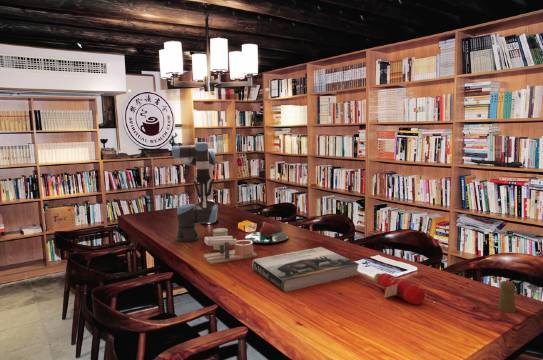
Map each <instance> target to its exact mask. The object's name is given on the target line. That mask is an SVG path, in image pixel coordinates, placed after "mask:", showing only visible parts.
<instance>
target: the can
mask: <svg viewBox="0 0 543 360" xmlns="http://www.w3.org/2000/svg"><path fill="white" fill-rule="evenodd" d="M228 233H229V232H228V228H224V227H222V228H221V227H219V228H214V229H212V237H217V236H229V234H228ZM213 250H215V251H220V245H214V246H213ZM224 251H225V245H224Z"/></svg>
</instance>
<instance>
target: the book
mask: <svg viewBox="0 0 543 360" xmlns="http://www.w3.org/2000/svg"><path fill="white" fill-rule="evenodd" d="M251 262H252V264H251V266H252V270H253V271H254V272H256V273H257V274H259V275H260V276H261V277H263V278H264V279H265V280H267V281H268V282H269V283H271V284H272V285H274V286H275V287H276V288H278V289H279V290H280V291H282V292H283V293H286V292H290V291H294V290H298V289H299V290H300V289H303V288H308V287H311V286H316V285H320V284H321V285H322V284H325V283H329V282H334V281H337V280H341V279H346V277H347V278H351V277H355V276H358V275H359V272H358V267H359V265H360V263H358V262H356V261H355V260H354V261H353V260H351V259H350V258H347V257H345V256H342V255H340V254H338V253H336V252H333V251H332V250H329V249H327V248H324V247H322V246H319V247H314V248H308V249H304V250H297V251H291V252H286V253H281V254H275V255H270V256H264V257H260V258H254V259H253V260H252V261H251ZM354 275H355V276H354ZM350 276H351V277H350ZM333 280H334V281H333Z"/></svg>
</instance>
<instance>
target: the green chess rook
mask: <svg viewBox="0 0 543 360" xmlns="http://www.w3.org/2000/svg"><path fill="white" fill-rule="evenodd" d="M499 287H500V290H501V291H500V296H499V300H498V305H497V309H498V310H499V311H501V312H504V313H508V312H509V313H508V314H511V313H512V314H513V312H514V313H516V312H515V311H516V310H517V309H516V300H515V292H516V289H517V287H516V285H515V283H514V282H513V281H508V280H503V281H501V282H500V284H499Z"/></svg>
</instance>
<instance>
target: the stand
mask: <svg viewBox="0 0 543 360" xmlns="http://www.w3.org/2000/svg"><path fill="white" fill-rule="evenodd" d="M202 256H203V257H202V258H204V259H205V261H207V262H208V263H209V265H213V264H219V263H225V262H231V261H238V260H239V261H240V260H245V259H251V258H257V257H258V254H257V253H256V252H254V251H253V253H252V254H250V255H236V254H235V251H234V249H232V250H231V249H230V245H229V242H226V243H225V250H224V245H220V250H219V251H218V252H210V253H205V254H202ZM244 258H245V259H244Z"/></svg>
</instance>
